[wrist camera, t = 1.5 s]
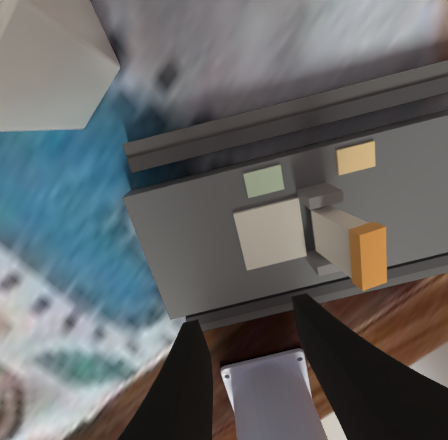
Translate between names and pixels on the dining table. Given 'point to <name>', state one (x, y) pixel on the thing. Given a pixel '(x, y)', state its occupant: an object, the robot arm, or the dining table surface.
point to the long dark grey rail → (288, 117)
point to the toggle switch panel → (291, 214)
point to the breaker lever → (351, 245)
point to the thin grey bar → (317, 293)
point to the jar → (52, 64)
